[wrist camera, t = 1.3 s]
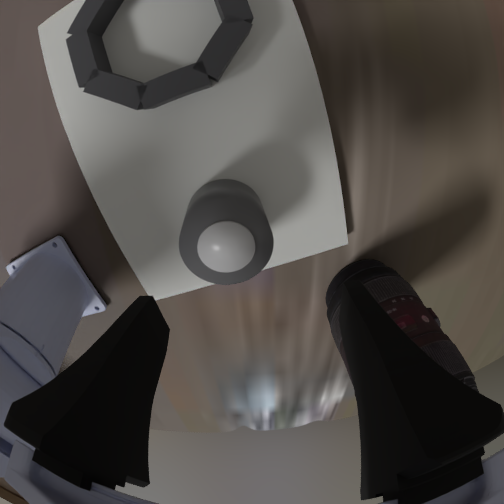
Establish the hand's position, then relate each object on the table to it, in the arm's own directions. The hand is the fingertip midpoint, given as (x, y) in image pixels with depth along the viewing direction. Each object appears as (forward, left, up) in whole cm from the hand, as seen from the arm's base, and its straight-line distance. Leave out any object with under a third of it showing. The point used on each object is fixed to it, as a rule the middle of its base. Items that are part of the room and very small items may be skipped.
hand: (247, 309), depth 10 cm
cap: (-1, 0, -9) cm, 9 cm away
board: (-1, +7, -10) cm, 12 cm away
